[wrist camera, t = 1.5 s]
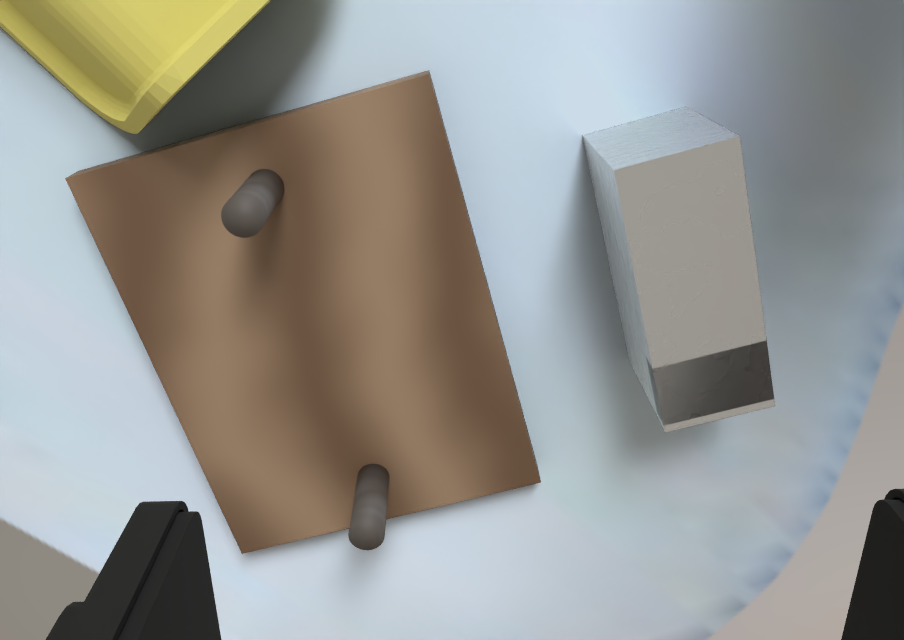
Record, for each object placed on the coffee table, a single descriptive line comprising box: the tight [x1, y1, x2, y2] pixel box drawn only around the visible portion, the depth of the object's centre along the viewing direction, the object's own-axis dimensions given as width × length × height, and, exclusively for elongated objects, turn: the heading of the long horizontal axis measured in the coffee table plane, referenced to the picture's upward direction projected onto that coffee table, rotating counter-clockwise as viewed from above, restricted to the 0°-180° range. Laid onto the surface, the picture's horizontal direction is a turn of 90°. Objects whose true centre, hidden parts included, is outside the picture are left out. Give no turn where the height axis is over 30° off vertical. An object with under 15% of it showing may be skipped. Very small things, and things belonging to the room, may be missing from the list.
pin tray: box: [65, 71, 541, 554], centre depth 32 cm, size 14×18×5 cm
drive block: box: [583, 107, 775, 433], centre depth 30 cm, size 4×10×6 cm, turn 15°
